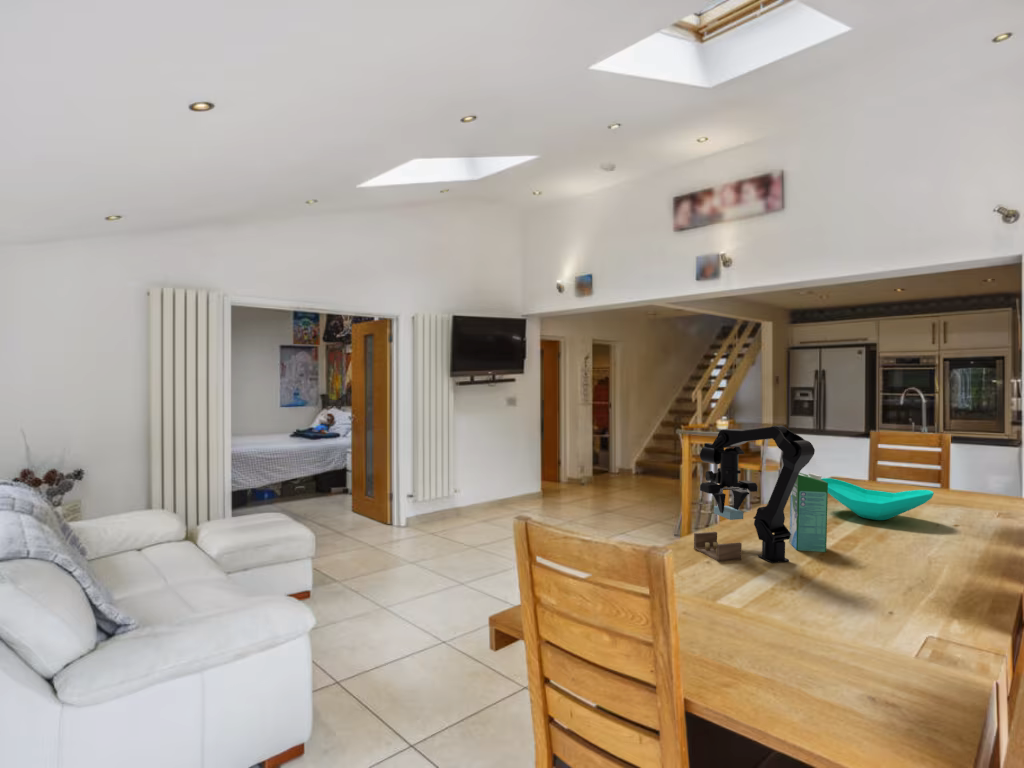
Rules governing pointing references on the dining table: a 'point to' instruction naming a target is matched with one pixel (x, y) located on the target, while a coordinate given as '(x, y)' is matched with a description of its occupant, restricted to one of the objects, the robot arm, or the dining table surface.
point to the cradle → (716, 547)
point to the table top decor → (875, 500)
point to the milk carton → (809, 513)
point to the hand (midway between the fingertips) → (728, 512)
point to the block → (729, 513)
